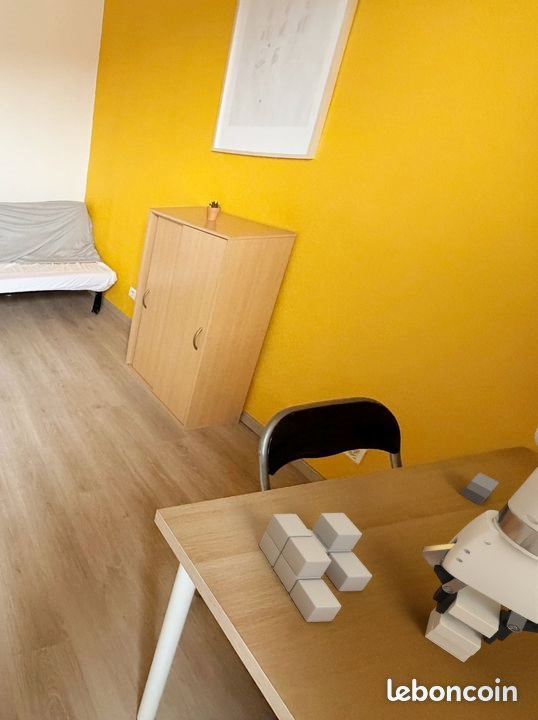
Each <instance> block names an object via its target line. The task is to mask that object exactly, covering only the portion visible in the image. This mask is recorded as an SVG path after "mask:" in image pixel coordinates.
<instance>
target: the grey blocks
mask: <svg viewBox="0 0 538 720" xmlns="http://www.w3.org/2000/svg"><path fill="white" fill-rule="evenodd" d="M499 484H500V481H497V480H495V479H493V478H491V477H490V476H488V475H485V474H484V473H482V472H478V473H477V474H476V475H475V476H474V477H473V478H472V479H471V480H470V482H469V483H468V484H467V485H466V486H465V487H464V489H463V490H462V491H461V492H460V495H461V496H462V497H464V498H466V499H468V500H469V501H471V502H473V503H475V504H476V505H478V506H481V504H483V502H485V501H486V500H488V498H489V497H490V496H491V495H492V494H493V493H494V492H495V489H496V487H497V486H498V485H499Z"/></svg>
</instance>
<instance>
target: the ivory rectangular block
mask: <svg viewBox="0 0 538 720" xmlns="http://www.w3.org/2000/svg"><path fill="white" fill-rule="evenodd" d="M435 610H436V606H435V607H434V608H433V609H432V610H431V612H430V613H429V617H428V621H427V625H426V630H425V634H424V638H426V639H428V640H429V641H430V642H432V644H433V643H434V645H437V647H439V648H441V649H442V650H444V651H445V652H447V653H448V654H450V656H453V657H454V658H456V659H458V660H459V661H461V662H462V663H465V662H466V661H467V660H468V659H469V658H470V657H471V656H474V655H475V654H476V653H477V652H478V651H479V650H480V649H481V647H482V633H480V632H478V631H477V630H475V629H474V628H472V627H470V626H469V625H467V624H466V623H464V622H462V621H461V620H459V619H457V618H456V617H454V616H453V615H451V614H449V613H448V610H447V611H446V612H445V613H444V614H440V613H438V612H436V611H435Z"/></svg>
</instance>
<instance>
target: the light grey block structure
mask: <svg viewBox="0 0 538 720" xmlns="http://www.w3.org/2000/svg"><path fill="white" fill-rule="evenodd" d="M362 535H363V533H362V532H361V531H360V529H358V527H357V526H356V525H355V524H354V523H353V522H352V520H351V519H350V518H349V517H348V516H347V515H346V514H345V513H344V512H321V513H320V515H319V517H318V519H317V520H316V522H315V524H314V525H313V527H312V529H308V527H307V526H306V525H305V524H304V522H303V521H302V520H301V518H300V517H299V516H298V514H297V513H274V514H272V516H271V518H270V521H269V522H268V525H267V526H266V530H265V531H264V533H263V535H262V537H261V539H260V541H259V543H258V546H259V549H260V550H261V551H262V554H264V556H265V558H266V559H267V561H268V562H269V564H270V566H271V567H272V569H273V571H274V572H275V574H276V575H277V577H278V578H279V580H280V582H281V583H282V585H283V587H284V588H285V590H286V592H287V593H289V596H290V598H291V599H292V601H293V603H294V604H295V606H296V607H297V609H298V611H299V612H300V614H301V616H302V617H303V619H304V620H305V622H307V623H318V622H333V620H334V618H335V617H336V615H337V614H338V613H339V611H340V610H341V608H342V605H341V603H340V601H339V600H338V599H337V598H336V596H335V595H334V593H333V592H332V591H331V589H330V587H329V586H328V585H327V583H326V582H325V581H324V580H323V579H322V577H323V576H324V574H326V576H327V577H328V579H329V580H330V582H331V583H332V585H333V586H334V587H335V588H336V590H337V591H338V592H359V591H363V590H364V589H365V588H366V586H367V585H368V583H369V582H370V581H371V579H372V578H373V575H372V573H371V572H370V571H369V570H368V568H367V567H366V566H365V565H364V563H363V562H362V561H361V560H360V558H359V557H357V555H356V554H355V553H354V552H353V551H352V550H353V549H354V548H355V546H356V545H357V543H358V542H359V540H360V538H361V537H362Z"/></svg>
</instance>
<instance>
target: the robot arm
mask: <svg viewBox="0 0 538 720" xmlns="http://www.w3.org/2000/svg"><path fill="white" fill-rule="evenodd" d="M534 442H535V445H536V446H537V447H538V427H537V428H536V430H535V432H534ZM420 556H422V558H423V559H424V560H425V561H426V563H428V564H429V566H431V567H432V568H433V572H434V573H435V575H436V577H437V578H438V580H439V582H440V586H439V587H438V588H437V589H436V590H435V592H433V595H432V600H433V601H435V602H436V605H435V607H436V610H435V611H436V612H438V613H440V614H444V613H445V612H446V611H447V610H448V608H449V606H450V605H451V604H452V603H453V602H454V601H455V600H456V598H457V593H458V591H459V590H461V589H463V588H465V587H466V586H468V585H469V586H471V587H472V588H474V589H476V590H477V591H479V592H481V593H483V594H484V595H486V596H488V597H490V598H491V599H493V600H495V601H497V602H498V603H500V604H501V606H504V607H506V608H507V610H505V609H504V608H502V609H500V617H499V627H498V631H497V632H496V633H495V634H494V635H493V636H491V637H490V638H488V637H487V636H485V635H483V634H481V640H482V641H483V642H484V643H486V645H487V644H488V645H489V646H490V645H492V644H493V643H494V642H495V641H496V640H498V641H500V642H503V641H504V640H505V639H506V638H507V637H509V636H510V635H511V634H512V633H516V634H521V633H522V632H529V633H535V634H538V466H537V467H536V468H535V469H534V470H533V471H532V472H531V473H530V475H529V476H528V477H527V478H526V480H524V482H523V483H522V484H521V485H520V487H519V488H518V489H517V490H516V491H515V492H514V494H512V496H511V497H510V498H509V500H508V501H507V502H506V503H505V504H504V505H503V507H502V508H501V509H500V510H495V509H487V510H486V511H484V512H482V513H480V514H479V515H478V516H476V517H474V519H472V520H470V522H468V523H467V524H466V525H465V526H464V527H462V529H461V530H460V531H459V532H458V533H456V535H454V537H452V539H451V540H450V541H449V542H448V543H444V544H434V545H427V546H426V545H425V546H423V547H422V548H421V551H420Z"/></svg>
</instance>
